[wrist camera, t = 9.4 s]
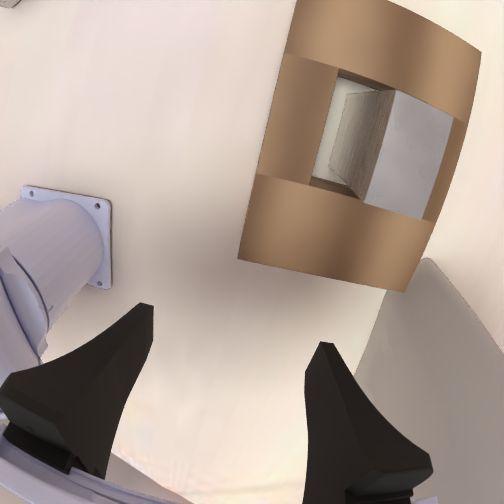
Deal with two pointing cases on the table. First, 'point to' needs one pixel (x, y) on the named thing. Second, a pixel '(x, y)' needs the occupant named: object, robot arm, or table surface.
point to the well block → (311, 130)
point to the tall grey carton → (440, 386)
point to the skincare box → (8, 3)
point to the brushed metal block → (390, 149)
